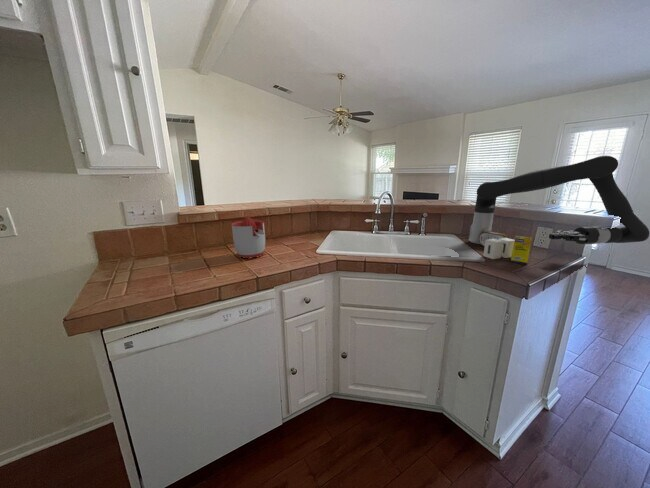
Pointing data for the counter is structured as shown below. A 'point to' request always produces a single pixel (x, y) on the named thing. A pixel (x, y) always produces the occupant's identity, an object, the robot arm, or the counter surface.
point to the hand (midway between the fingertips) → (550, 236)
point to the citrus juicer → (249, 237)
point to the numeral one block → (493, 248)
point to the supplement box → (521, 249)
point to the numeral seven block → (507, 247)
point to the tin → (490, 236)
